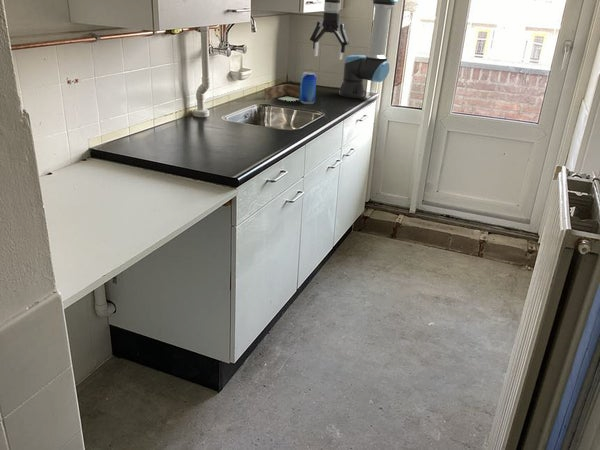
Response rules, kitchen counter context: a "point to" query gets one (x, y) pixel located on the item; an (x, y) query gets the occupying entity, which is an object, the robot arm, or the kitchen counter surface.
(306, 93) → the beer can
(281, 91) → the corner walls
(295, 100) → the pad
